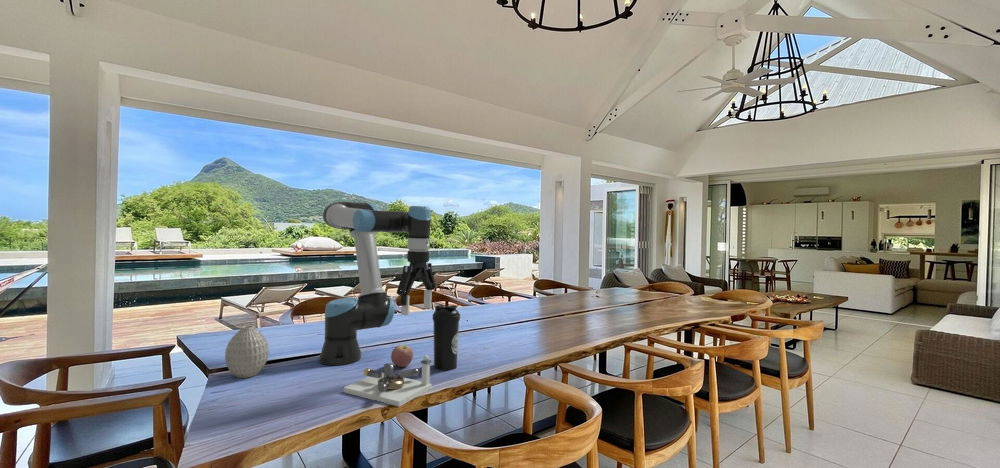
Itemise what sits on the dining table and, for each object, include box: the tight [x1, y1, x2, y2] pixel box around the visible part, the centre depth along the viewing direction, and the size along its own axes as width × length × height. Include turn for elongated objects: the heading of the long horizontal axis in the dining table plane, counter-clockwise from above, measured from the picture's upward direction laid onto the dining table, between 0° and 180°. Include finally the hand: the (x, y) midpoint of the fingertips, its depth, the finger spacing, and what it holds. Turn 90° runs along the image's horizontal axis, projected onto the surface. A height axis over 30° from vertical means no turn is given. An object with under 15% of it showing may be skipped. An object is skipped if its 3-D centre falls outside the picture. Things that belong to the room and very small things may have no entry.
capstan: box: [362, 362, 420, 392], centre depth 134 cm, size 16×18×6 cm
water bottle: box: [432, 304, 461, 372], centre depth 157 cm, size 10×10×23 cm
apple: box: [390, 344, 414, 368], centre depth 156 cm, size 8×8×8 cm
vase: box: [224, 325, 270, 379], centre depth 144 cm, size 13×13×17 cm
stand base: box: [343, 355, 433, 408], centre depth 133 cm, size 22×16×11 cm
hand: (416, 311), depth 146 cm, fingers open, 13 cm apart
